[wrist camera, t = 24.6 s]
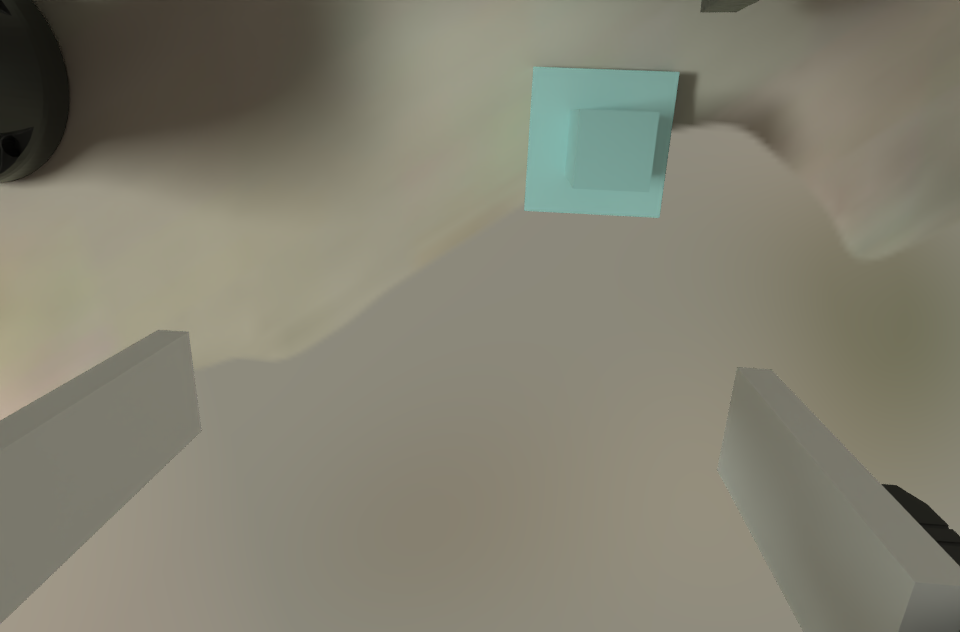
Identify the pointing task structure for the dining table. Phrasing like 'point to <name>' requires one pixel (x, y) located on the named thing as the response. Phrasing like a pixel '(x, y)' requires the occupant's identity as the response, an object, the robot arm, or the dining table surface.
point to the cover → (599, 140)
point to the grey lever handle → (725, 5)
